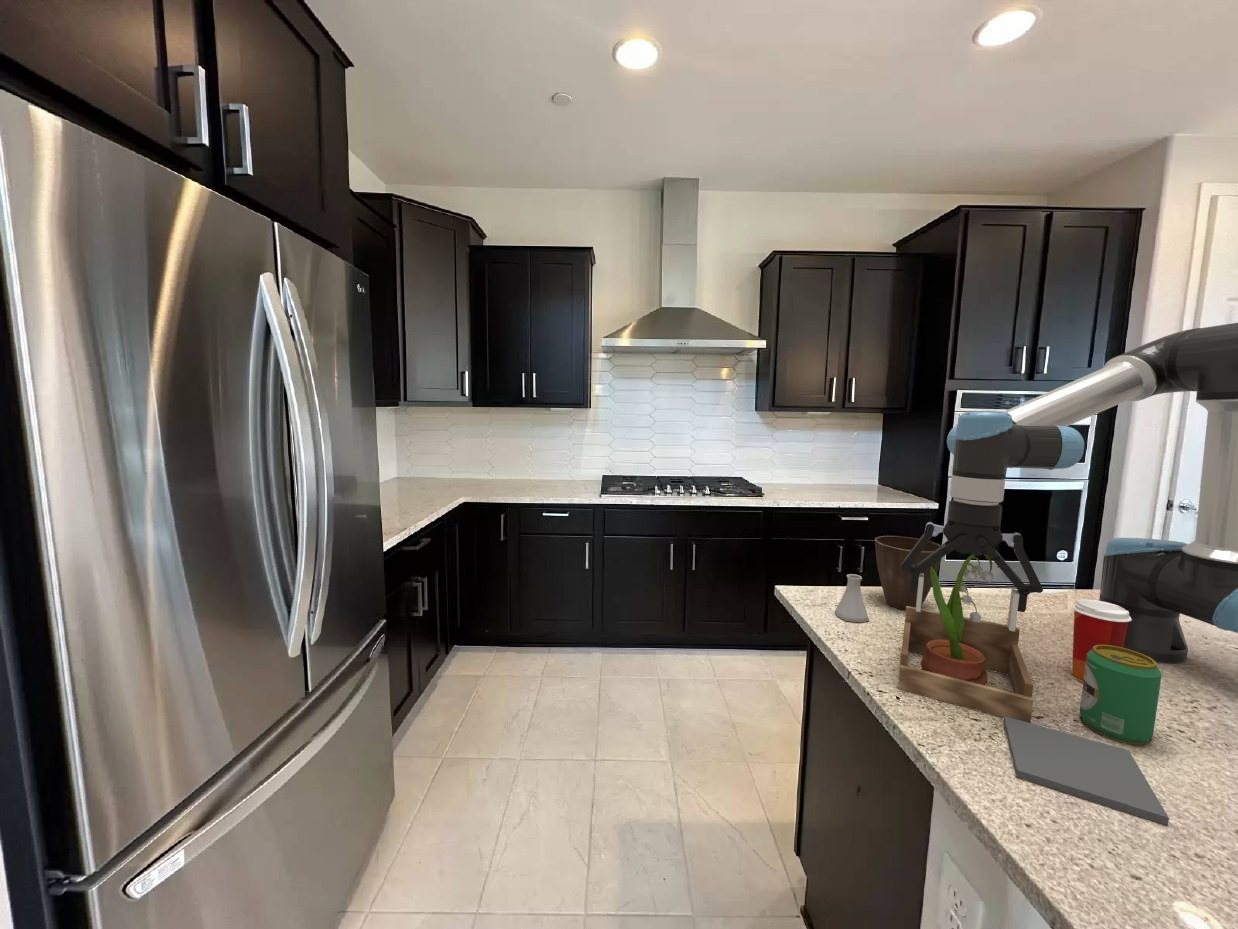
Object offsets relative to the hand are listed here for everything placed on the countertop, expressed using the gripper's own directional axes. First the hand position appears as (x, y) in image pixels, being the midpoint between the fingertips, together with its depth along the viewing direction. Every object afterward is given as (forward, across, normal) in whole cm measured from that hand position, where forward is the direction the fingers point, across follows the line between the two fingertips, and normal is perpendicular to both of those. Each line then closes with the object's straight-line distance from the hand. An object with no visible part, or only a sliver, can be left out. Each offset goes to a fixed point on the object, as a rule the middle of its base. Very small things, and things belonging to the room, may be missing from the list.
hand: (962, 618), depth 87 cm
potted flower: (+12, 0, 0) cm, 12 cm away
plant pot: (+12, +10, -36) cm, 39 cm away
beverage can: (+12, -20, +3) cm, 23 cm away
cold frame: (+12, 0, 0) cm, 12 cm away
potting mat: (+12, -13, +17) cm, 24 cm away
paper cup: (+12, -21, -15) cm, 29 cm away
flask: (+12, +20, -20) cm, 31 cm away
